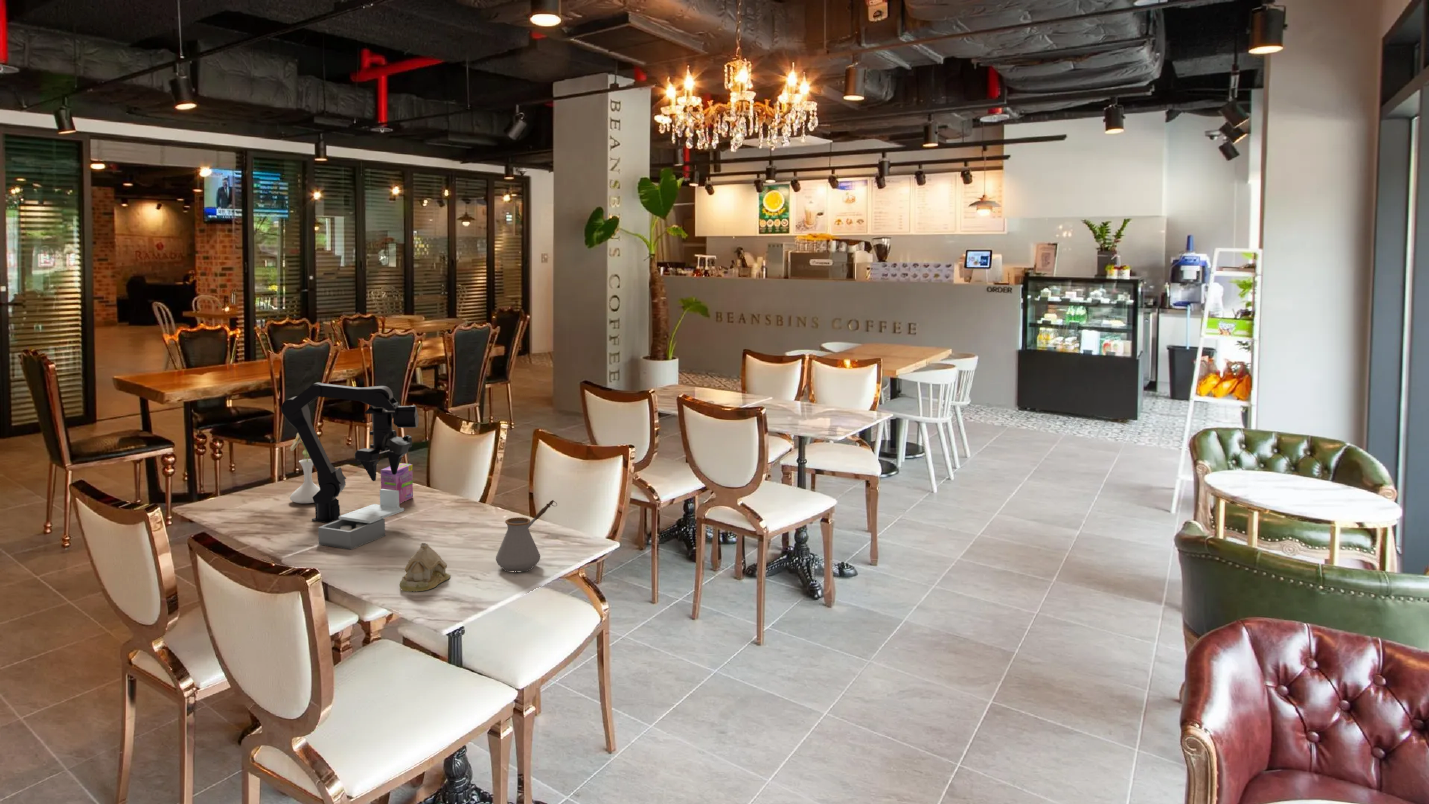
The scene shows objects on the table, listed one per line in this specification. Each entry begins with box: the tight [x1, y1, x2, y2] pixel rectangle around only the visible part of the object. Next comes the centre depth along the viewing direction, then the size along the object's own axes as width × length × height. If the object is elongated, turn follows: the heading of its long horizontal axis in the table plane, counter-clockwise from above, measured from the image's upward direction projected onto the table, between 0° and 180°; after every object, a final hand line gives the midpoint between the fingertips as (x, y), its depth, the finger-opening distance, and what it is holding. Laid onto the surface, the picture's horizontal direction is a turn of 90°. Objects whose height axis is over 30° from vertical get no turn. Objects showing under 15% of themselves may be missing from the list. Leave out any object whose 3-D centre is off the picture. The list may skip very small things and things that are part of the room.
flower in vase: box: [289, 432, 320, 504], centre depth 286 cm, size 13×11×25 cm
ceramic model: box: [399, 542, 451, 592], centre depth 219 cm, size 14×11×10 cm
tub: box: [317, 518, 386, 550], centre depth 250 cm, size 11×14×5 cm
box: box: [380, 462, 414, 505], centre depth 291 cm, size 10×6×12 cm, turn 168°
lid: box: [338, 488, 405, 523], centre depth 257 cm, size 11×16×6 cm
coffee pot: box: [495, 499, 558, 573], centre depth 234 cm, size 21×12×15 cm, turn 153°
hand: (384, 477), depth 270 cm, fingers open, 9 cm apart
